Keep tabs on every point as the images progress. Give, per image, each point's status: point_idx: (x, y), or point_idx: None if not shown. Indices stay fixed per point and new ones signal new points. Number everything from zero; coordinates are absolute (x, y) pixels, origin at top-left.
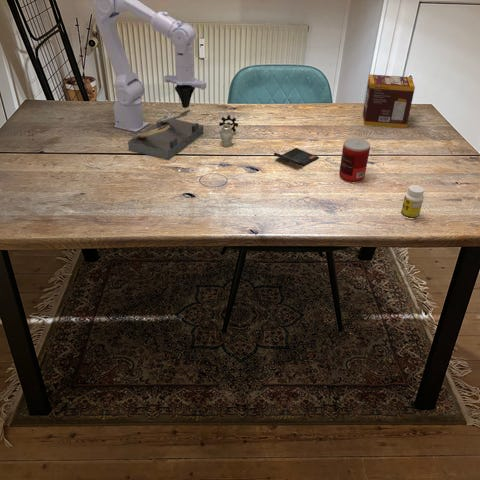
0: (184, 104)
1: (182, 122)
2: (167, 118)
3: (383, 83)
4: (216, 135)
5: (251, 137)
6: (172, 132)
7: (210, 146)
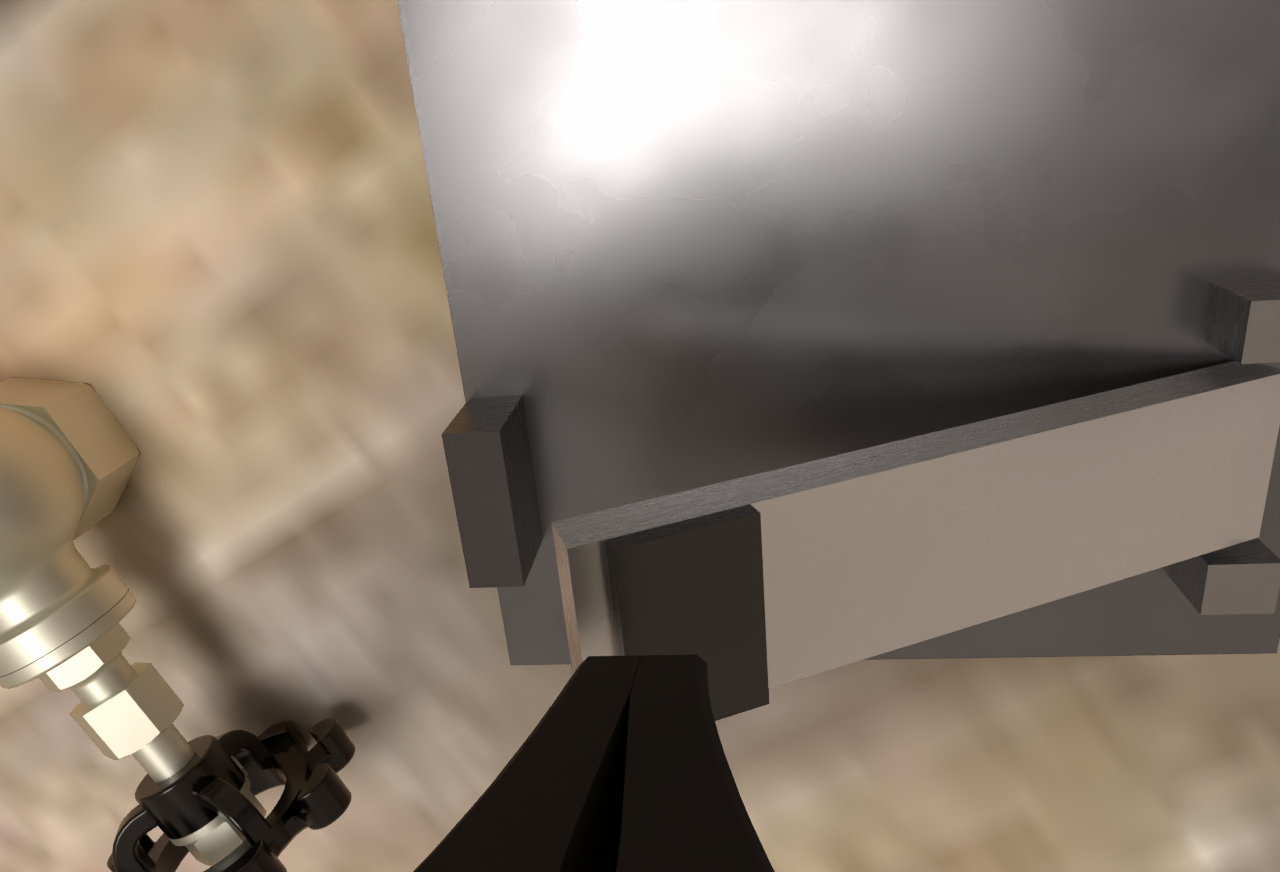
0: (595, 706)
1: None
2: (1133, 467)
3: None
4: (360, 619)
5: (10, 755)
6: (792, 136)
7: (181, 282)
